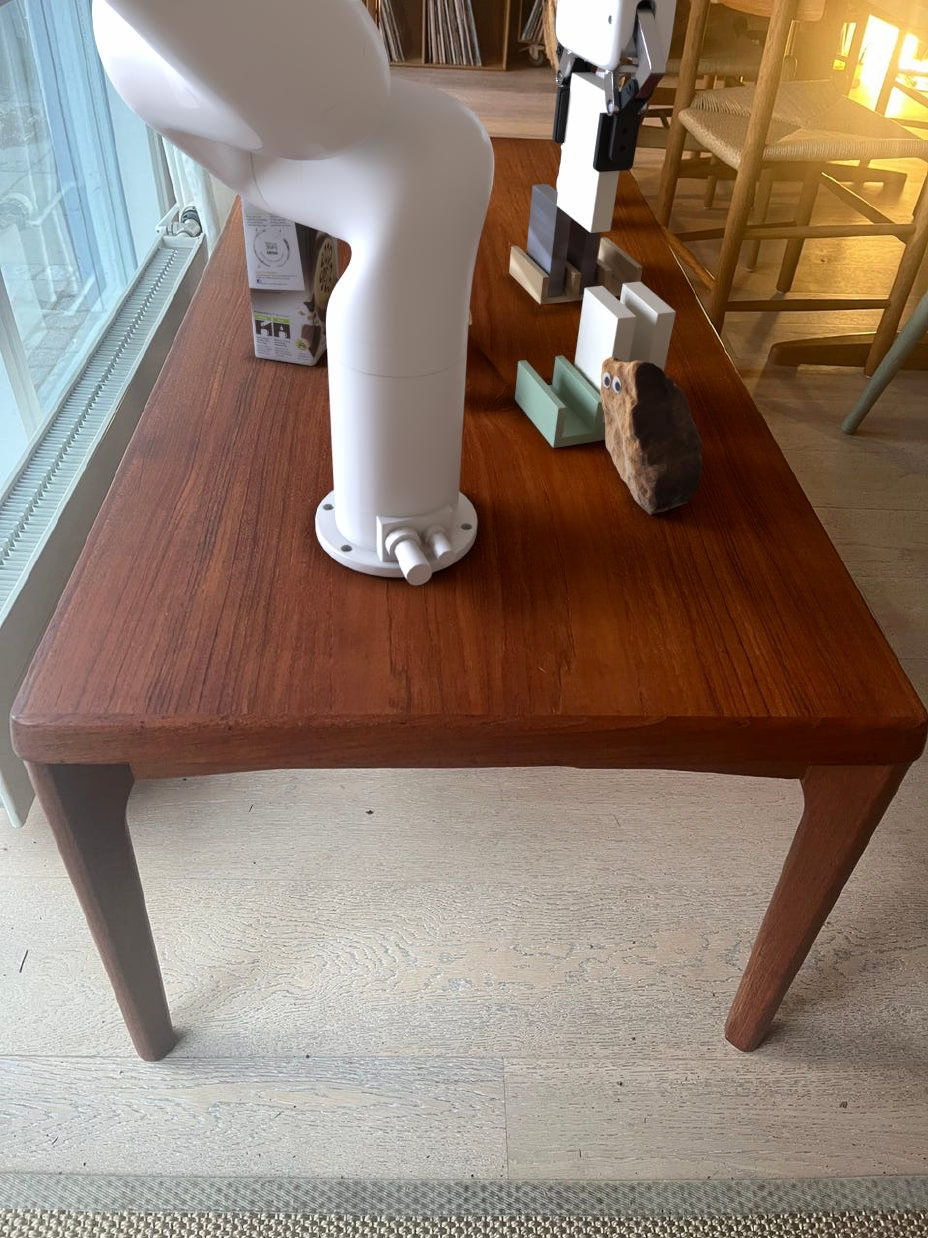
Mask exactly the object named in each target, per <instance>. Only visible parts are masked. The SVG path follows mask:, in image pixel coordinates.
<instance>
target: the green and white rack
mask: <svg viewBox="0 0 928 1238" xmlns="http://www.w3.org/2000/svg"><path fill="white" fill-rule="evenodd" d="M676 314H677V311H676V310H674V308H672V307H671V306H670V305H669V304H668V303H666V302H665V301H664V300H663V299H661V298H660V297H659V296H658V295H657V294H656V293H654V292H653V291H652V290H651V289H650V288H648V286H647V285H645V284H644V283H643V282H642V281H640V282H632V283H623V286H622V292H621V295H620V300H619V299H618V298H616V296H613V295H612V294H611V293H610V292H609V291H608V290H607V289H605V288H604V287H603V286H596V287H587V288H585V290H584V298H583V300H582V305H581V313H580V319H579V326H578V336H577V342H576V349H575V357H574V365H573V364H571V362H570V361H569V360H568V359H567V358H566V357H565V356H564V355H556V356H555V359H554V369H553V376H552V384H550V385H548V383H546V382H545V380H544V379H543V378H542V376H540V374H538V372H537V371H536V370H535V369H534V368H533V366H532V365H531V364H530V363H529V361H528V360H526V359H523V360H519V361H518V362H517V370H516V371H517V372H516V382H515V393H514V400H515V402H516V403H517V404H518V405H519V407H520V408H521V409H522V411H523V412H524V413H525V415H526V416H527V417H528V418H529V420H531V422H532V423H533V425H534V426H535V427H536V428H537V430H538V431H539V433H541V435H542V436H543V437H544V438H545V440H546V441H547V442H548V443H549V445H550V446H551V448H553V449H557V448H562V447H570V446H575V445H581V444H586V443H593V442H600V441H605V427H606V423H605V414H604V410H603V406H602V401H601V395H600V390H601V372H602V364H603V362H604V361H605V360H606V359H608V358H609V357H616V358H617V359H619V360H622V361H626V362H628V363H629V362H633V361H637V360H639V361H643V362H648V363H653V364H654V365H656V366H657V367H659V368H661V369H662V370H663V371H664V372H665V368H666V362H667V357H668V351H669V347H670V342H671V337H672V333H673V327H674V323H675V318H676ZM667 376H668V375H666V377H667ZM674 385H676V384H675V383H674Z"/></svg>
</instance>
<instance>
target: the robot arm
mask: <svg viewBox="0 0 928 1238" xmlns="http://www.w3.org/2000/svg"><path fill="white" fill-rule="evenodd" d="M677 1H678V0H557V5H556V15H555V17H554V20H553V30H554V34H555V40H556V45H557V46H556V50H555V54H556V57H557V62H558V67H557V71H556V74H555V81H556V84H557V91H556V99H555V100H556V101H555V110H554V118H553V128H552V136H551V137H552V140H553V142H555V143H556V144H563V143H564V138H565V130H566V121H567V112H568V104H569V95H570V86H571V78H572V73H582V72H592V73H594V74H596V71H597V68H598V67H599V68H601V69H603V70H604V83H605V104H606V112H604V113H600V115H599V122H598V130H597V137H596V144H595V152H594V159H593V168H594V169H595V170H596V171H598V172H609V171H619V172H622V171H630V170H632V168H633V167H634V163H635V156H636V149H637V144H638V137H639V131H640V124H641V119H642V116H643V115H644V114H645V113H646V110H647V107H648V102H649V100H650V99H652V96H653V95H654V91H655V90H656V88H657V86H658V85H659V83H660V82H661V81H662V80H663V78H664V77H665V75H666V71H667V62H668V59H669V55H670V50H671V49H670V48H671V45H672V44H671V43H672V38H673V29H674V25H675V15H676V7H677ZM91 10H92V11H91V16H92V17H91V18H92V28H93V35H94V40H95V45H96V50H97V53H98V55H99V58H100V61H101V63H102V66H103V68H104V71H105V72H106V73H105V74H106V75H107V77H108V79H109V81H110V82H111V84H112V86H113V88H114V89H115V91H116V92H117V94H118V95H119V96H120V98H121V99H122V101H123V102H124V103H125V104H126V106H127V107H128V108H129V109H130V110H131V111H132V113H134V114H135V116H137V117H138V118H139V119H140V120H141V121H142V123H144V124H145V125H147V126H148V127H149V128H150V129H151V130H153V131H154V132H155V133H156V134H158V135H159V136H160V137H162V138H163V139H164V140H166V141H167V142H168V143H170V144H171V145H172V146H173V147H175V148H176V149H177V150H178V151H180V152H181V153H183V155H185V156H186V157H188V158H189V159H190V160H191V161H193V162H194V163H196V165H198V166H199V167H200V168H202V169H203V170H204V171H206V172H207V173H208V174H209V175H211V176H212V177H214V178H215V179H217V181H219V182H220V183H221V184H223V185H224V186H225V187H227V188H228V189H229V190H231V191H232V192H233V193H235V194H236V195H238V196H239V197H240V198H241V197H242V198H244V199H245V200H247V201H248V202H250V203H252V204H253V205H255V206H257V207H258V208H260V209H262V210H264V211H266V212H269V213H271V214H274V215H276V216H279V217H282V218H284V219H287V220H291V221H294V222H297V223H299V224H302V225H305V226H308V227H311V228H314V229H317V230H320V231H323V232H326V233H328V234H329V235H331V236H333V237H336V238H337V239H338V240H341V241H344V242H346V243H347V244H348V245H349V246H350V250H351V258H350V261H349V264H348V265H347V267H346V269H345V271H344V272H343V274H342V275H341V277H340V278H339V281H338V283H337V284H336V286H335V288H334V290H333V291H332V294H331V296H330V299H329V303H328V307H327V314H326V337H327V348H326V350H327V352H326V353H327V370H328V371H327V372H328V373H327V374H328V392H329V412H330V433H331V434H330V435H331V452H332V453H331V454H332V455H331V456H332V474H333V475H332V476H333V490H331V491H330V492H329V493H328V494H327V495H326V496H325V497H324V498H323V499H322V500H321V502H320V503H319V505H318V507H317V509H316V514H315V521H314V522H315V533H316V536H317V540H318V542H319V544H320V546H321V547H322V549H323V550H324V551H325V553H327V554H328V555H329V556H330V558H332V559H334V560H335V561H336V562H337V563H339V564H341V565H343V566H345V567H347V568H349V569H352V570H353V571H357V572H359V573H364V574H367V575H370V576H378V577H384V578H405V579H406V581H407V583H408V584H409V585H412V586H422V585H423V584H426V583H427V582H428V581H429V580H430V579H431V578H432V575H433V573H435V572H438V571H441V570H443V569H446V568H448V567H449V566H452V565H453V564H455V563H456V562H458V561H460V560H461V559H463V557H464V556H465V555H467V553H468V552H469V551H470V549H472V547H473V545H474V543H475V540H476V539H477V538H476V537H477V535H478V533H477V532H478V531H477V530H478V516H477V511H476V509H475V508H474V505H473V504H472V502H471V501H470V500H469V499H468V497H467V496H466V495H464V494H463V493H462V492H461V491H460V487H461V485H460V483H461V465H462V448H463V431H464V429H463V428H464V411H465V393H466V377H467V376H466V375H467V360H468V359H467V357H468V340H469V339H468V337H469V325H468V322H469V323H470V321H469V309H470V306H471V297H472V288H473V279H474V272H475V266H476V260H477V256H478V255H477V254H478V250H479V245H480V242H481V237H482V233H483V228H484V225H485V221H486V216H487V212H488V209H489V204H490V200H491V196H492V191H493V185H494V179H495V178H494V177H495V153H494V148H493V144H492V141H491V137H490V135H489V133H488V130H487V128H486V126H485V125H484V123H483V122H482V121H481V119H480V118H479V116H478V115H477V114H476V113H475V112H474V111H473V110H472V109H471V108H470V107H469V106H468V105H466V104H465V103H464V102H463V101H461V100H460V99H458V98H456V97H455V96H453V95H451V94H449V93H447V92H445V91H443V90H441V89H439V88H437V87H433V86H431V85H427V84H425V83H421V82H417V81H413V80H410V79H406V78H402V77H398V76H394V75H391V69H390V62H389V61H390V60H389V57H388V52H387V49H386V47H385V44H384V41H383V38H382V36H381V33H380V30H379V28H378V26H377V24H376V23H375V21H374V19H373V17H372V15H371V14H370V12H369V10H368V8H367V7H366V5H365V4H364V2H363V1H362V0H92V5H91ZM625 58H626V59H628V60H630V61H632V63H624V64H623V63H622V64H621V62H622V61H621V60H620V59H625ZM585 60H586V61H585ZM620 78H630V79H628V80H627V81H626V82H625V83H624V85H623V87H622V88H621V91H620V92H619V87H620ZM470 310H471V309H470Z"/></svg>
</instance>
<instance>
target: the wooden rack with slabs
mask: <svg viewBox="0 0 928 1238" xmlns="http://www.w3.org/2000/svg"><path fill="white" fill-rule="evenodd" d="M531 189H532V190H531V200H530V201H531V202H530V210H529V211H530V212H529V221H528V232H527V243H526V253H525V251H524V250H523V249H522V248H520V246H518V245H511V247H510V259H509V272H508V273H509V274H510V275H511V276H512V277H513V278H514V279H515V280H516V281H517V283H519V284H520V286H522V287H523V289H524V290H525V291H527V293H528V294H529V295H530V296H531V297H532V298H533V299H534V300H535V301H536V302H537V303H538V304H539V305H550V304H556V303H565V302H575V301H583V298H584V290H585V288H587V287H596V286H603V287H604V288H605V289H607V290H608V291H609V292H610V293H611V294H612V295H613V296H614V297H617V296H619V297H621V292H622V286H623V283H632V282H641V279H642V273H643V266H642V265H641V264H640V263H639V262H637V261H636V260H635V259H634V258H632V256H630V255H629V253H628V254H627V253H626V252H625V251H624V250H623V249H622V248H620V247H619V246H618V245H617V244H616V243H614V242H613V240H611V239H610V238H608V237H607V236H606V237H605V236H604V237H601V236H602V235H601V234H602V232H596V233H590V232H589V231H588V230H586V229H585V228H584V227H583V226H581V225H580V224H579V223H578V222H577V221H575V220H574V219H573V218H572V217H570V216H569V215H568V214H567V213H565V212H564V211H563V210H562V209H560V208H559V207H558V206H557V198H558V192H557V189H555V188H554V187H552V186H551V185H549V184H548V183H541V184H532V188H531Z"/></svg>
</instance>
